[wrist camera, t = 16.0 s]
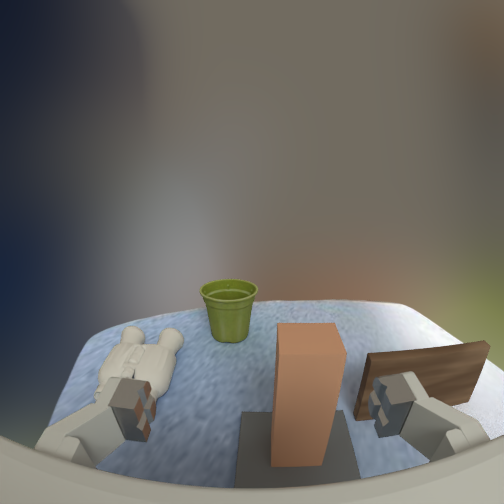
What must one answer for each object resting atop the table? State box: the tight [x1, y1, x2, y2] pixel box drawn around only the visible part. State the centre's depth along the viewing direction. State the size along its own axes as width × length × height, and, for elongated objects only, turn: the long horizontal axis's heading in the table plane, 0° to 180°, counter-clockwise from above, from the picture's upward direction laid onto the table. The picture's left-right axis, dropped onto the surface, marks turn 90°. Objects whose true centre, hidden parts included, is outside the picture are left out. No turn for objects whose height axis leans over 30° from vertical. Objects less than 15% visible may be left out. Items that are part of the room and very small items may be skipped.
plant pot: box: [200, 279, 258, 343], centre depth 53 cm, size 9×9×9 cm
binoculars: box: [94, 326, 184, 403], centre depth 40 cm, size 10×16×5 cm, turn 2°
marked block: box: [271, 323, 347, 467], centre depth 26 cm, size 5×5×14 cm
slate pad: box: [234, 410, 361, 488], centre depth 28 cm, size 12×12×1 cm
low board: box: [353, 341, 490, 421], centre depth 32 cm, size 2×17×9 cm, turn 88°
